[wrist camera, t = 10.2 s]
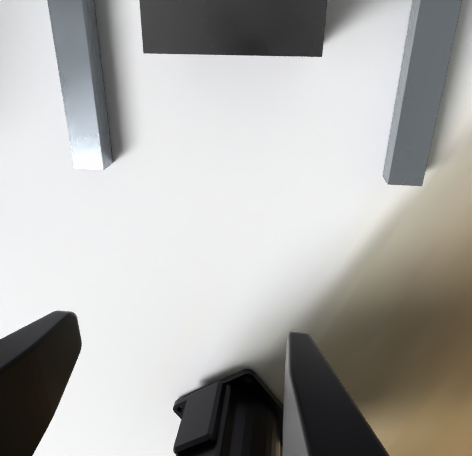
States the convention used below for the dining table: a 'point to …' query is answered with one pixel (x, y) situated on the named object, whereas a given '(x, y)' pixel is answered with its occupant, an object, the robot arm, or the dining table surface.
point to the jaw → (234, 27)
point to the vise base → (405, 111)
